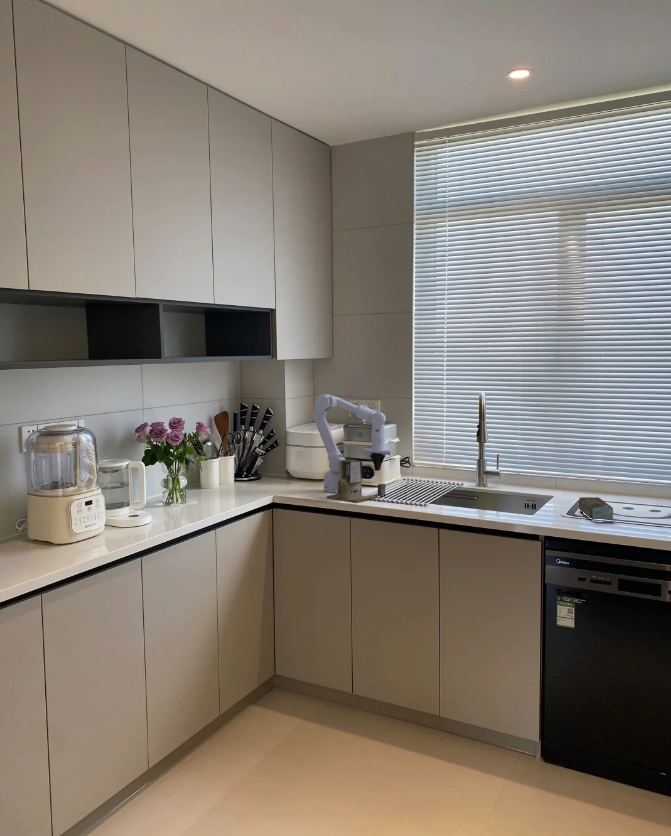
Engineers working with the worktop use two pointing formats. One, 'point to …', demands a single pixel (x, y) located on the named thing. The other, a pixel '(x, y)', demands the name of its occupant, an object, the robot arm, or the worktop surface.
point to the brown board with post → (363, 498)
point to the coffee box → (350, 478)
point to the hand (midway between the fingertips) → (377, 470)
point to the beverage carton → (595, 508)
